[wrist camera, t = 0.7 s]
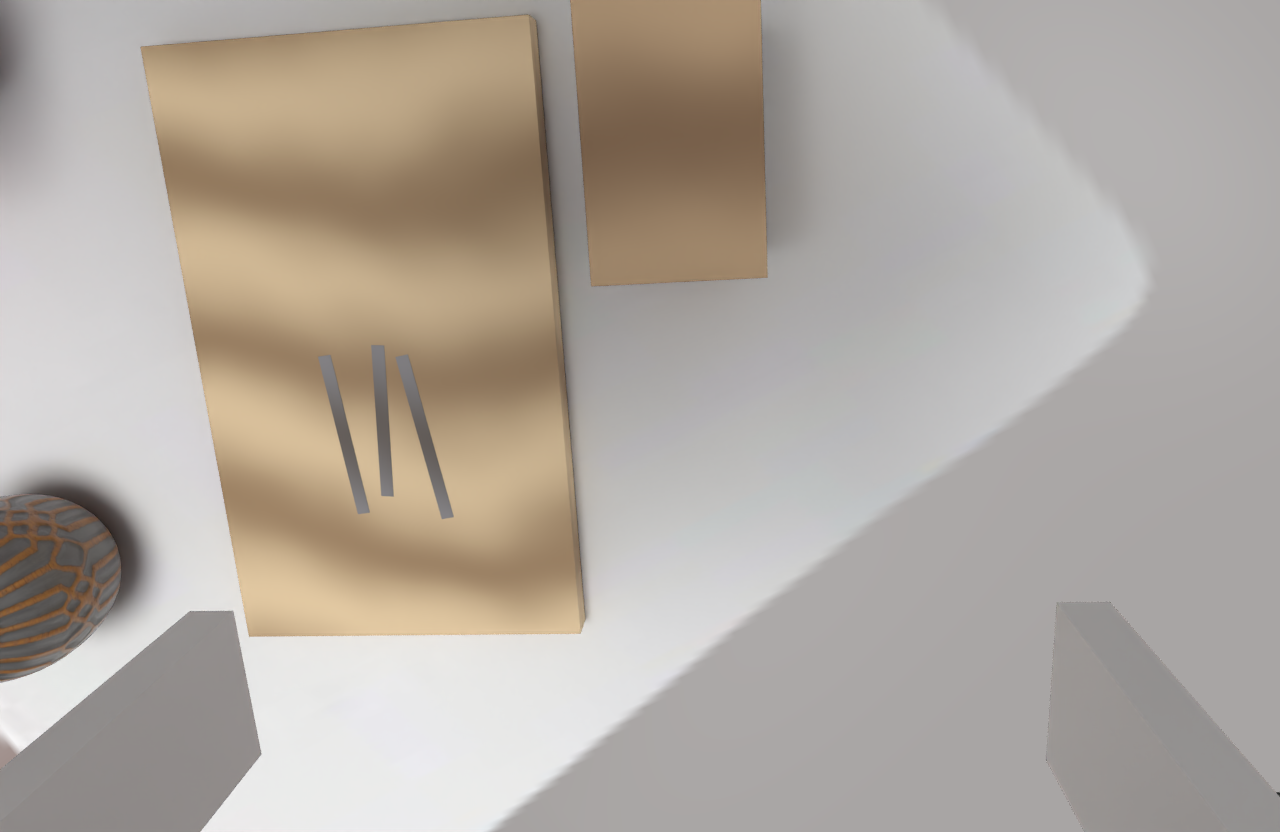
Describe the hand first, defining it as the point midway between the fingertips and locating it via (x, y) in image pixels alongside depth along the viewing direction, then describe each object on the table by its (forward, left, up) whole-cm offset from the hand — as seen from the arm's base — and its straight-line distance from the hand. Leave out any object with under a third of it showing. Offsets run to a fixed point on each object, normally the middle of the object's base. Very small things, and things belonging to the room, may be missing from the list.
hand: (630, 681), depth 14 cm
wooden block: (-9, 0, -21) cm, 23 cm away
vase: (+6, -27, -21) cm, 35 cm away
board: (-2, -12, -21) cm, 24 cm away
